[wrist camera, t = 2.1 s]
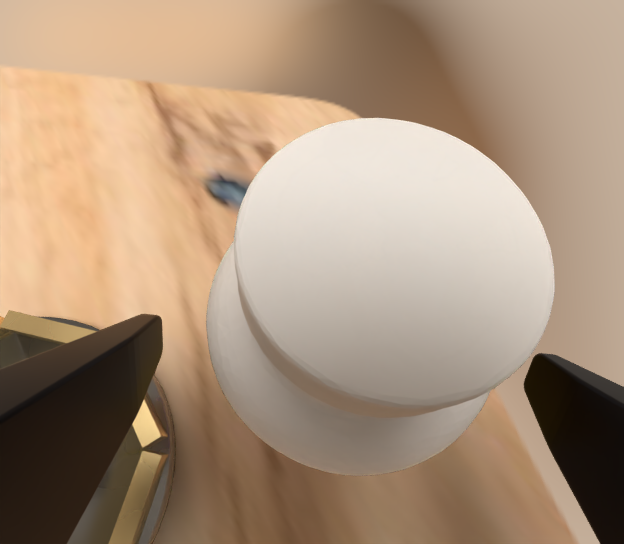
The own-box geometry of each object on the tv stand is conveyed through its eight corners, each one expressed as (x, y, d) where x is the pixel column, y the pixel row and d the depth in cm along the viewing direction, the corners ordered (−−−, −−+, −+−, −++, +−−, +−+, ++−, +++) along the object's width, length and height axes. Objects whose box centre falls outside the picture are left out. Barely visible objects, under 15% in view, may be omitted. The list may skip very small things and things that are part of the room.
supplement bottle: (369, 294, 19) (519, 60, 7) (408, 437, 16) (735, 434, 5) (233, 316, 18) (150, 86, 6) (252, 472, 15) (175, 582, 4)
